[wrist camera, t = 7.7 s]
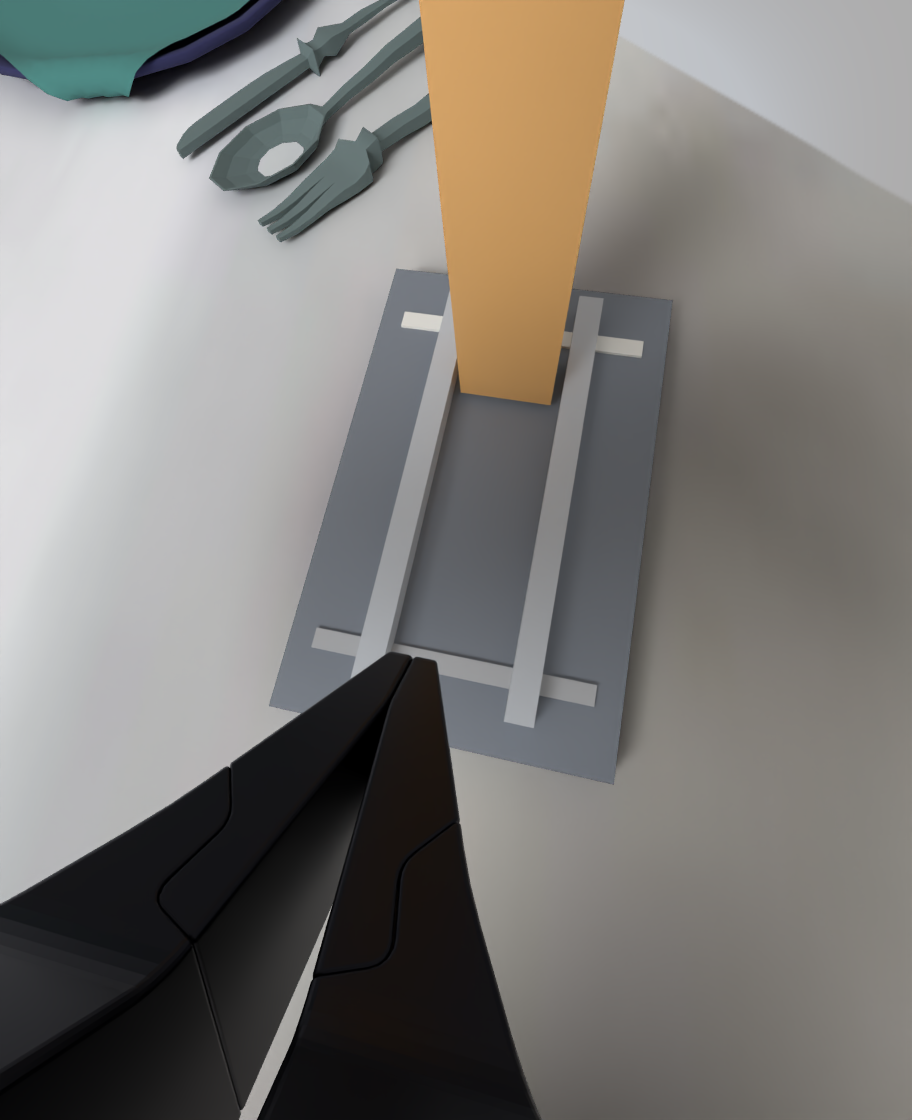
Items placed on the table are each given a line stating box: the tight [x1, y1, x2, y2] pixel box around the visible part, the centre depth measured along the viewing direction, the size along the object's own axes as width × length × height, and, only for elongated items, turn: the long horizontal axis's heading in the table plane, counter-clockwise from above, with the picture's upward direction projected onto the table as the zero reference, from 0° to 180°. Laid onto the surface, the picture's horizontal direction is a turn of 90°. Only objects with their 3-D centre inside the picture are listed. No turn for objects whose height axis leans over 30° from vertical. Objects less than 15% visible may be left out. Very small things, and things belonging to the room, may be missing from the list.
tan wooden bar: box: [419, 0, 624, 405], centre depth 11 cm, size 2×3×13 cm
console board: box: [269, 269, 673, 785], centre depth 17 cm, size 16×10×2 cm, turn 168°
